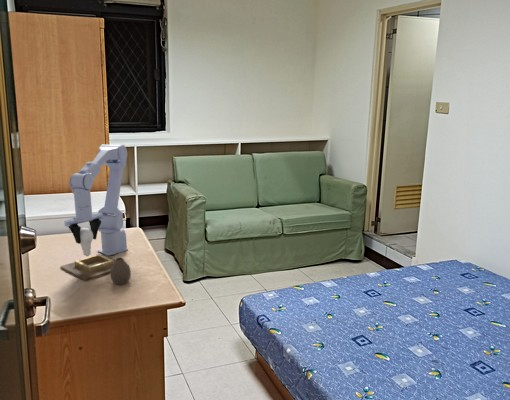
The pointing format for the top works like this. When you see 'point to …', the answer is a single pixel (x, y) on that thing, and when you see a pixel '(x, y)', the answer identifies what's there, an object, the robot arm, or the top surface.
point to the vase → (120, 271)
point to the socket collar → (106, 261)
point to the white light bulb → (86, 240)
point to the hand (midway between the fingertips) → (86, 240)
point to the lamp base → (83, 274)
